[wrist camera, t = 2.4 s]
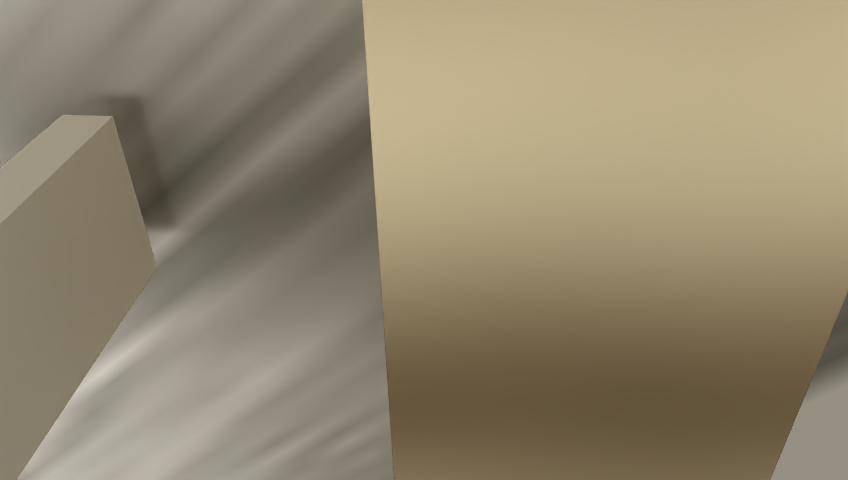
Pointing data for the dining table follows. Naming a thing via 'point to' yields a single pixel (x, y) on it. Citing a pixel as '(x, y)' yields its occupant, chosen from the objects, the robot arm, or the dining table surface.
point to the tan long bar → (605, 231)
